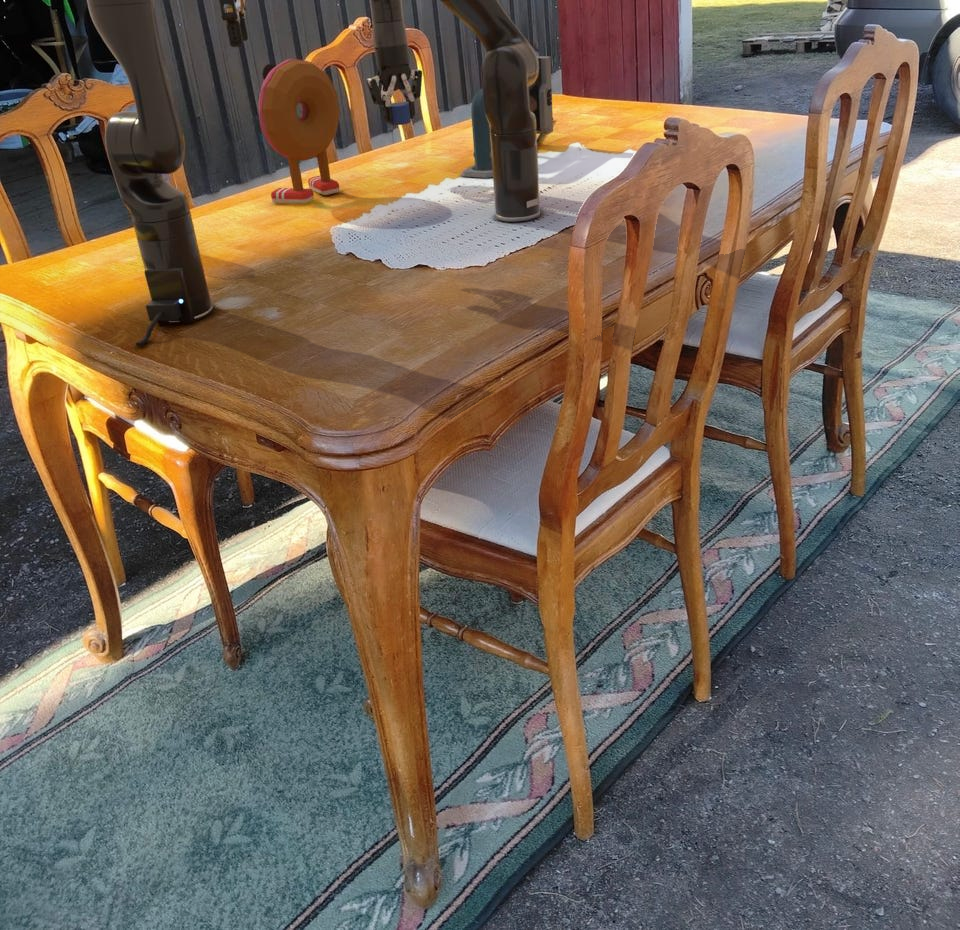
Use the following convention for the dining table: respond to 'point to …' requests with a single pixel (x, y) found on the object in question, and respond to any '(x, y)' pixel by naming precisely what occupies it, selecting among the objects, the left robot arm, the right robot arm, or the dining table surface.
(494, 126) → the right robot arm
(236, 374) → the dining table surface
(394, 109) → the canister
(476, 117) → the clamp
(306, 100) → the toy
